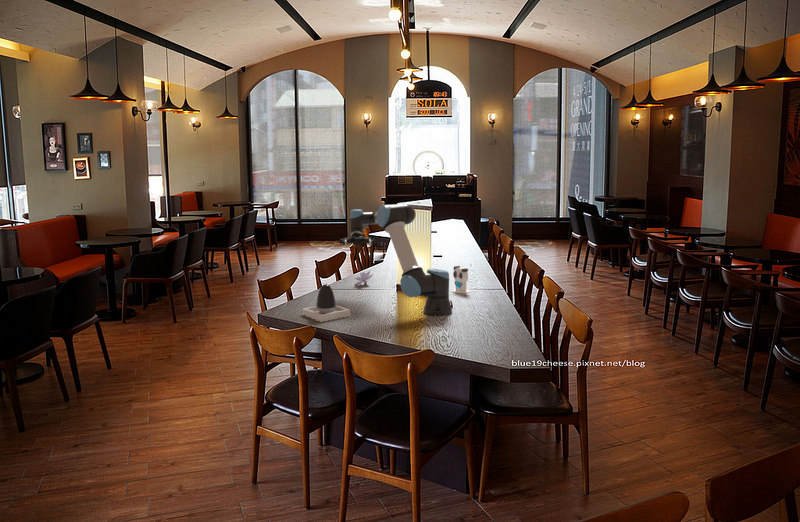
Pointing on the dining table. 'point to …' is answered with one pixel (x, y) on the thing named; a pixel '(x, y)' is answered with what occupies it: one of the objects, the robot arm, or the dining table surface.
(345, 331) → the dining table surface
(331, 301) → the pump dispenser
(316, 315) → the tray
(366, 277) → the water lily
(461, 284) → the panda figurine
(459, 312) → the dining table surface
